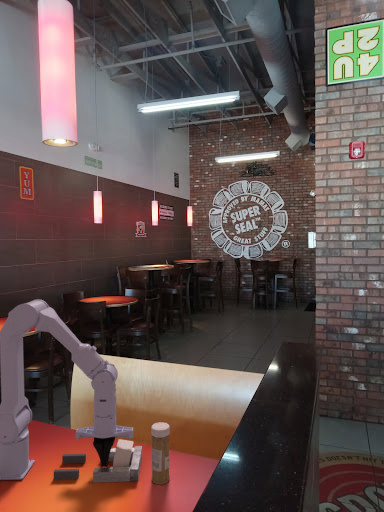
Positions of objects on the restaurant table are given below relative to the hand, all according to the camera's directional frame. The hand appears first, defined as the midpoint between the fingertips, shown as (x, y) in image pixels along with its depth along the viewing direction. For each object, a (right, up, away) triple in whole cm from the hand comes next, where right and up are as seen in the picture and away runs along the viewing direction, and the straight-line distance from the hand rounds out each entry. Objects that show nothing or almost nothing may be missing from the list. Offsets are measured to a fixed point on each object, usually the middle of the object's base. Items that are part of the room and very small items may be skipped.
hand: (104, 464), depth 96 cm
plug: (+4, -1, 0) cm, 4 cm away
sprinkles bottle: (+15, -1, -4) cm, 16 cm away
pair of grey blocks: (-9, -1, 0) cm, 9 cm away
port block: (+3, -1, 0) cm, 3 cm away
